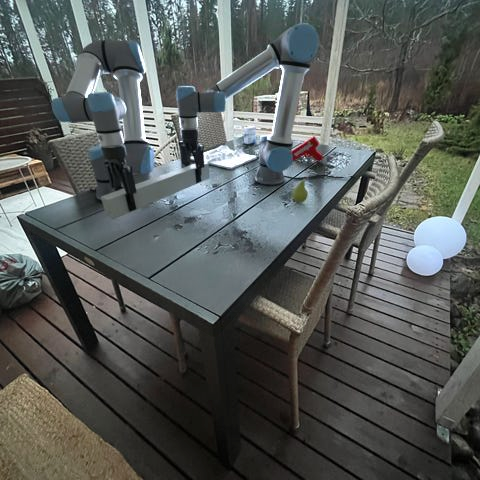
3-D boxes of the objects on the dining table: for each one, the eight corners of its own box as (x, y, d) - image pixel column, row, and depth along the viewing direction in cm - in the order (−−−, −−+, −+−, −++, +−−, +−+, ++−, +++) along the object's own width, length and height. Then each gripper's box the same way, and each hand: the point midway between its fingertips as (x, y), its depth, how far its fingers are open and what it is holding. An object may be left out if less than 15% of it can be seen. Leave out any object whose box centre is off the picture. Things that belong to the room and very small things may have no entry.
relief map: (230, 169, 160) (230, 160, 157) (189, 159, 178) (188, 151, 175) (256, 158, 178) (256, 150, 176) (216, 150, 196) (216, 143, 193)
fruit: (288, 200, 123) (290, 174, 116) (302, 197, 125) (305, 172, 119) (296, 206, 118) (299, 179, 111) (310, 203, 120) (314, 177, 114)
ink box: (251, 141, 219) (251, 125, 213) (255, 142, 216) (255, 126, 210) (243, 143, 214) (243, 127, 208) (248, 144, 211) (248, 128, 205)
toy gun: (327, 156, 170) (314, 135, 166) (326, 157, 167) (314, 136, 163) (301, 171, 180) (289, 151, 176) (301, 173, 177) (288, 153, 173)
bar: (202, 176, 134) (201, 161, 130) (209, 178, 132) (208, 162, 127) (106, 215, 99) (100, 196, 95) (113, 219, 97) (108, 199, 93)
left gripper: (87, 143, 92) (106, 205, 105) (117, 151, 83) (134, 218, 96) (107, 139, 97) (123, 199, 110) (138, 146, 88) (151, 210, 101)
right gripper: (168, 127, 116) (175, 179, 129) (198, 132, 107) (203, 187, 120) (181, 124, 121) (186, 175, 134) (211, 129, 113) (214, 182, 125)
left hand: (128, 208), depth 103 cm, fingers closed on bar, 5 cm apart
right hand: (194, 180), depth 127 cm, fingers closed on bar, 5 cm apart
